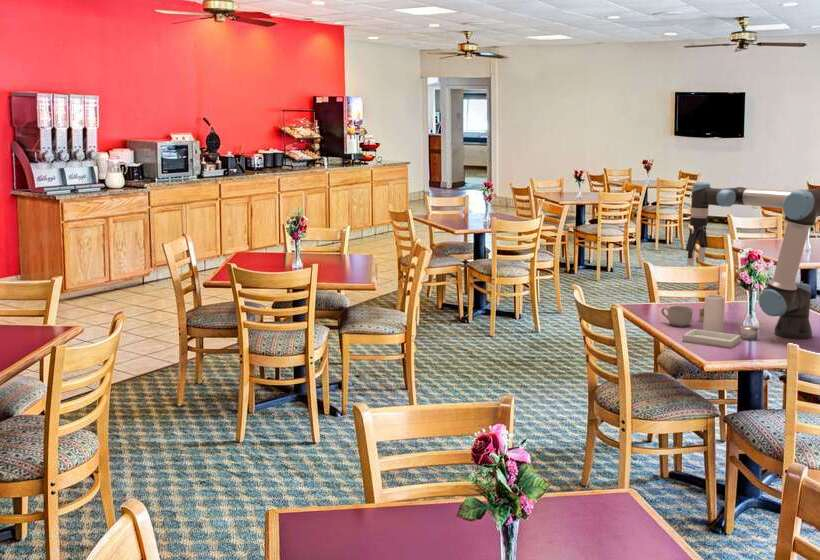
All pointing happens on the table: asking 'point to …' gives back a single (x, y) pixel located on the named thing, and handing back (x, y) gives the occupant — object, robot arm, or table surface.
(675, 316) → the teacup
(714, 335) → the tray
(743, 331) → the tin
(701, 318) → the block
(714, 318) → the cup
